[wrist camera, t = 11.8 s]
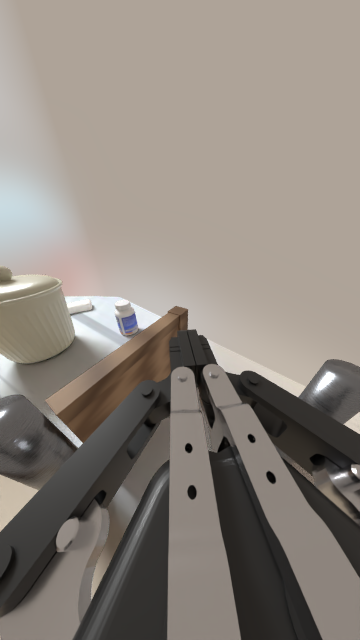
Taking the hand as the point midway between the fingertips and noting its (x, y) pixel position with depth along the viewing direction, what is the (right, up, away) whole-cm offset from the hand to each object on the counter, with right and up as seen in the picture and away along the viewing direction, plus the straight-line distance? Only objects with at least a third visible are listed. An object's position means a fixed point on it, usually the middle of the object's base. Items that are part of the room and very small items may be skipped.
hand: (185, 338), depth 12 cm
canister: (-36, -6, +27) cm, 45 cm away
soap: (-41, +5, +46) cm, 62 cm away
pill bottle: (-16, -2, +33) cm, 37 cm away
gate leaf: (-5, -13, +13) cm, 19 cm away
